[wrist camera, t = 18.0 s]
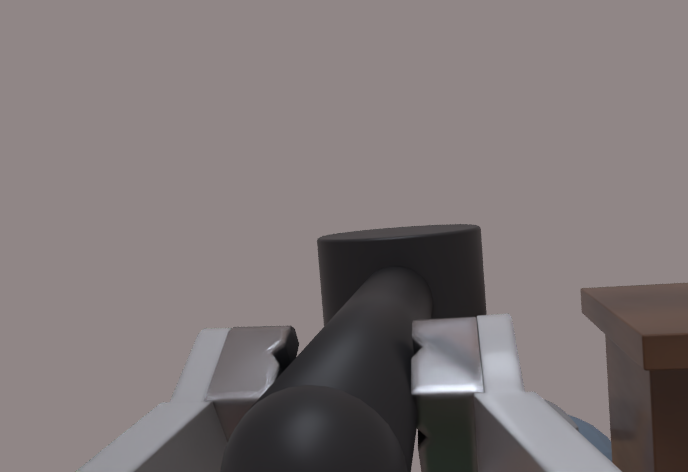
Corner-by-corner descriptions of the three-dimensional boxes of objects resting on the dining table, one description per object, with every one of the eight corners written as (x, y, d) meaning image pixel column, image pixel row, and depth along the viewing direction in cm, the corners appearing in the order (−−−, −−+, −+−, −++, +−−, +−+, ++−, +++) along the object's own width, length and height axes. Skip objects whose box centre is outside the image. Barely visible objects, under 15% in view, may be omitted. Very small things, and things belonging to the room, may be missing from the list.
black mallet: (583, 636, 6) (564, 315, 6) (55, 621, 6) (25, 341, 6) (482, 303, 22) (476, 221, 22) (338, 310, 23) (332, 231, 23)
